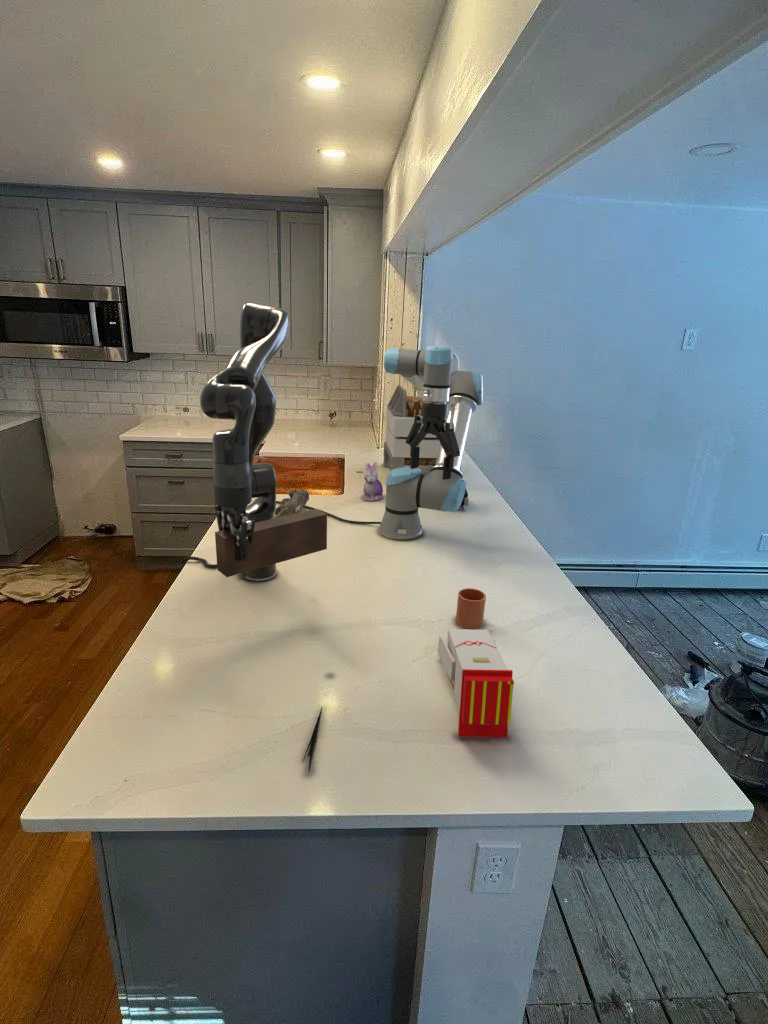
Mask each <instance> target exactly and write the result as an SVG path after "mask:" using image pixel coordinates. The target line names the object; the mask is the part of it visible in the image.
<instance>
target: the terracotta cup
mask: <svg viewBox="0 0 768 1024" xmlns="http://www.w3.org/2000/svg"><path fill="white" fill-rule="evenodd" d="M486 600H487V595H486V593H485V592H483V590H480V589H476V588H472V587H470V588H469V587H467V588H462V589H460V590H459V591H458V593H457V601H456V602H457V604H456V614H455V623H456V624H457V626H458V627H460V628H461V629H469V630H479V629H481V627H482V626H483V624H484V618H485V608H486Z"/></svg>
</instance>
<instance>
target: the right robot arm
mask: <svg viewBox="0 0 768 1024" xmlns="http://www.w3.org/2000/svg"><path fill="white" fill-rule="evenodd" d="M383 368H384V371H385V373H386V374H391V375H399V376H400V377H402V378H404V379H405V380H406V381H407V382H408V383H410V384H411V386H412V388H413V389H414V390H415V392H417V394H419V395H420V396H422V397H423V400H424V402H423V403H422V415H417V416H415V419H414V424H413V426H412V428H411V430H410V433H409V435H408V437H407V439H406V444H409V445H410V447H411V449H410V457H411V466H404V467H401V468H396V469H393V470H391V471H390V470H389V472H388V473H387V475H386V482H385V504H384V505H385V507H384V508H385V509H384V513H383V515H382V519H381V521H358V520H350V519H345V518H342V517H339V516H337V515H335V514H332V513H330V512H328V511H327V512H326V511H324V510H322V509H319V508H317V509H318V510H320V511H322V512H324V513H326V514H327V516H329V517H330V518H331V517H332V518H334V519H335V520H338V521H341V522H345V523H350V524H358V525H379V526H378V533H379V534H380V535H381V536H382V537H385V538H387V539H389V540H395V541H410V540H415V539H418V538H420V537H421V536H422V535H423V525H422V524H421V518H420V515H419V509H425V510H433V511H439V512H440V511H441V512H448V513H449V512H450V513H455V512H457V511H458V510H459V509H460V508H461V507H460V505H461V503H462V500H463V497H464V494H465V489H466V490H467V481H466V479H464V474H463V472H462V470H461V471H460V466H461V467H462V461H463V456H464V451H465V446H466V442H467V436H468V431H469V426H470V422H471V417H472V414H473V413H475V412H476V411H477V409H478V407H479V406H483V401H484V379H483V378H484V376H483V374H482V373H481V372H479V371H472V370H469V371H468V370H459V368H460V359H459V356H458V355H457V354H456V353H455V352H453V349H452V347H450V346H445V345H429V346H426V348H425V349H409V348H399V347H396V348H395V347H392V348H391V347H390V348H388V349H386V350H385V353H384V356H383ZM445 418H446V419H445ZM422 423H423V426H422V427H421V425H422ZM420 428H421V429H420ZM419 430H420V431H419ZM418 432H419V433H418ZM441 432H442V433H441ZM427 434H432V435H436V437H437V438H438V439H439V441H440V446H439V451H438V456H437V460H436V465H435V466H431V467H430V469H429V472H428V473H427V474H426V473H422V469H421V468H419V467H420V466H419V452H420V447H417V446H419V443H420V442H421V441H422V440H423V438H424V437H425V436H426V435H427ZM256 499H257V498H254V501H255V500H256ZM281 502H282V500H281V501H280V500H276V504H280V505H281V504H282V503H281ZM303 508H304V509H308V510H313V509H316V508H315V507H312V506H308V505H305V506H304V507H303Z"/></svg>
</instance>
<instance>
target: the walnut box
mask: <svg viewBox="0 0 768 1024" xmlns="http://www.w3.org/2000/svg"><path fill="white" fill-rule="evenodd" d="M318 509H319V508H315V509H313V510H311V509H308V510H305V511H301V512H300V513H296V514H291V515H287V516H282V517H278V518H274V519H269V520H265V521H260V522H256V523H255V526H254V535H253V543H252V544H248V545H247V559H246V560H245V561H241V562H238V561H237V560H236V543H235V536H233V535H232V534H231V529H228V530H221V531H219V530H217V531H214V537H215V539H214V541H215V551H216V552H215V555H216V564H217V568H216V569H217V571H218V572H220V574H222V575H223V576H224V577H225V578H230V577H233V576H237V575H242V573H244V572H248V571H251V570H255V569H258V568H262V567H265V566H269V565H273V564H276V565H277V564H280V563H282V562H283V563H284V562H286V561H290V560H293V559H296V558H301V557H304V556H308V555H310V554H314V553H318V552H322V551H325V550H327V549H328V515H327V514H326V513H324V512H325V511H324V512H322V511H323V510H322V511H320V510H321V509H319V510H318ZM235 530H236V531H239V530H241V528H239V529H235ZM239 540H240V535H239Z"/></svg>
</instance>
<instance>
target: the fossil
mask: <svg viewBox="0 0 768 1024" xmlns="http://www.w3.org/2000/svg"><path fill="white" fill-rule="evenodd" d="M288 496H289V497H287V498H286V497H285V498H282V499H281V503H282V504H280V505H278V506H276V511H275V518H278V517H282V516H287V515H291V514H296V513H300V511H301V510H302V508H304V506H307V503H308V502H309V500H310V494H309V492H308V490H305V488H300V489H299V490H298V489H296V488H295V489H290V490H289V492H288Z"/></svg>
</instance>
